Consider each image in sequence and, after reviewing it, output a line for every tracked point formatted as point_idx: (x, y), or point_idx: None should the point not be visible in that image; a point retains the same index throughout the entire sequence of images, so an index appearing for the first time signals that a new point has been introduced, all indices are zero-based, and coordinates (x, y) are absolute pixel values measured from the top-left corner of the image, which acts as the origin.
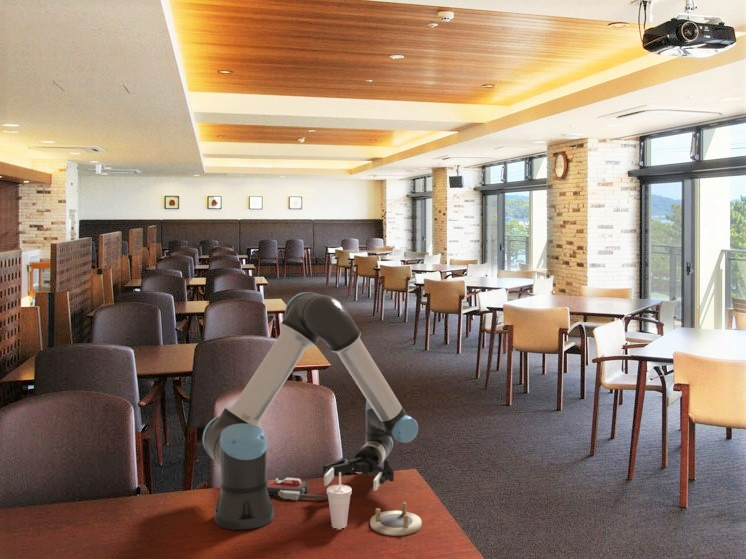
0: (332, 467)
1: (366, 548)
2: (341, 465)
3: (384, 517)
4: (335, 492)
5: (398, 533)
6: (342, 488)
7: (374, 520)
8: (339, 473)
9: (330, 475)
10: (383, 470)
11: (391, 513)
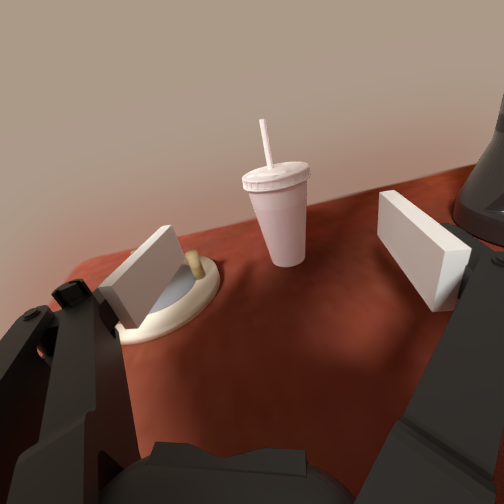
0: (481, 264)
1: (225, 230)
2: (448, 322)
3: (182, 290)
4: (277, 164)
5: None
6: (265, 170)
7: (208, 275)
8: (263, 119)
9: (402, 235)
10: (83, 280)
11: (157, 315)
